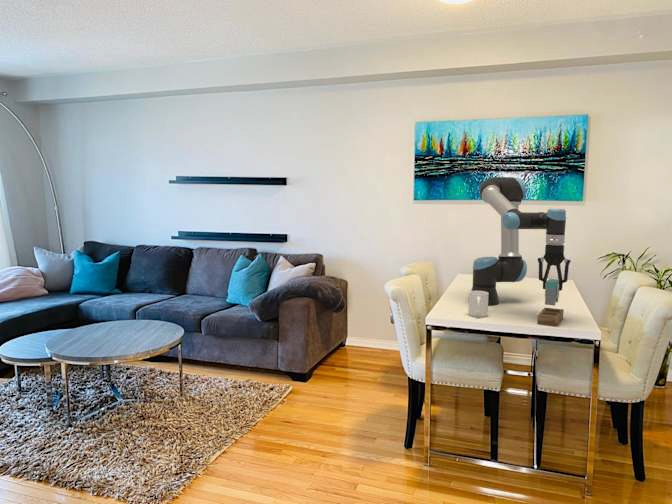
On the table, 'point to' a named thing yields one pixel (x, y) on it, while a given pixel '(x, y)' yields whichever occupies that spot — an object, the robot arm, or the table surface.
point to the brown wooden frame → (550, 316)
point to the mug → (478, 303)
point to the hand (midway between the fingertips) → (551, 297)
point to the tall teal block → (551, 292)
